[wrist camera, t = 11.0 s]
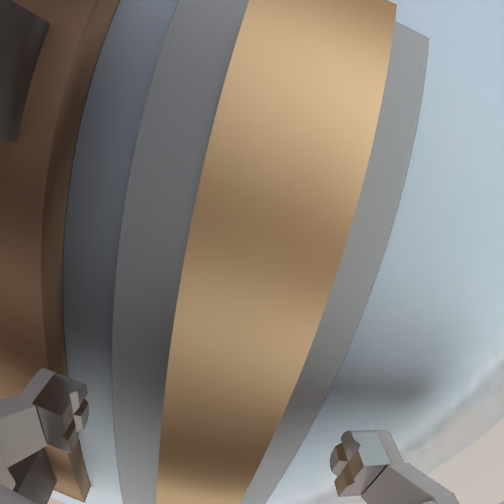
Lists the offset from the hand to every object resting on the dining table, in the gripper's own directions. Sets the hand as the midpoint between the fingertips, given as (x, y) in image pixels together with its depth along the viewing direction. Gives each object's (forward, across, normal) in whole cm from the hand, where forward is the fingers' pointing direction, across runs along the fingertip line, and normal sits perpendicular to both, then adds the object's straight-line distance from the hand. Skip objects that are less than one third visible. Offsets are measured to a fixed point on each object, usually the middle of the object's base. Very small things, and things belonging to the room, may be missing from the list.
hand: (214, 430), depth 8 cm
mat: (+3, 0, 0) cm, 3 cm away
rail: (+2, 0, 0) cm, 2 cm away
